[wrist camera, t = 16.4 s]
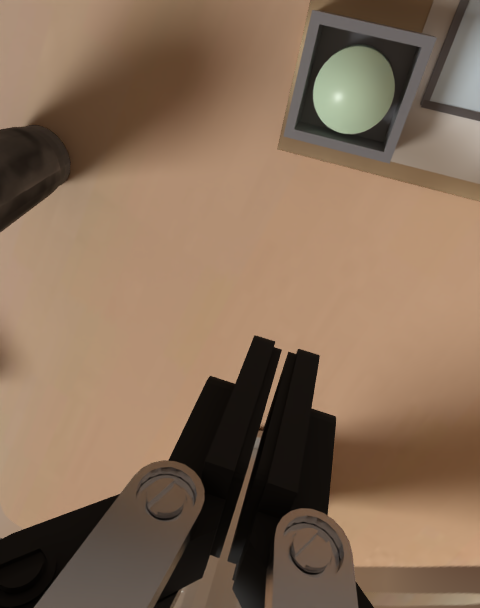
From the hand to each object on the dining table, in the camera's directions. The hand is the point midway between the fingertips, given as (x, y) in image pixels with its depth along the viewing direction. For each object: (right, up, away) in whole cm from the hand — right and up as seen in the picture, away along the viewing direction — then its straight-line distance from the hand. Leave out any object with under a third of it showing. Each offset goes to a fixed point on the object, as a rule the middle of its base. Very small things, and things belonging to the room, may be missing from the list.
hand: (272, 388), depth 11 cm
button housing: (+6, +14, +14) cm, 21 cm away
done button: (+5, +14, +13) cm, 20 cm away
